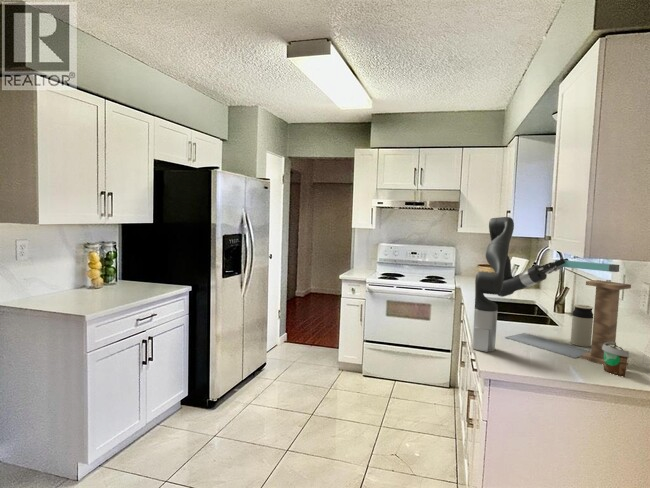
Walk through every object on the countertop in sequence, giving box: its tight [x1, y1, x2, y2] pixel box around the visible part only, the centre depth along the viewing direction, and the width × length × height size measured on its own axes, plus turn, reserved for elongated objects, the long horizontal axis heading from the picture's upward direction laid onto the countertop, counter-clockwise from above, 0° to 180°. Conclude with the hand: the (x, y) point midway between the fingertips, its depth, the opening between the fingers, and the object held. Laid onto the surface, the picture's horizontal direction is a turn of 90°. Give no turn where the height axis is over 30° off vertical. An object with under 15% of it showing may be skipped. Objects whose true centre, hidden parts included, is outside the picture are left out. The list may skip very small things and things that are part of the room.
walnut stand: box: [580, 279, 632, 366], centre depth 164 cm, size 12×11×32 cm
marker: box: [554, 259, 620, 273], centre depth 171 cm, size 24×3×3 cm, turn 31°
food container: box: [602, 341, 630, 378], centre depth 153 cm, size 12×6×10 cm, turn 163°
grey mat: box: [504, 332, 591, 359], centre depth 184 cm, size 32×16×1 cm, turn 32°
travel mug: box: [570, 303, 594, 348], centre depth 186 cm, size 8×8×18 cm
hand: (566, 260), depth 178 cm, fingers closed on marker, 2 cm apart
